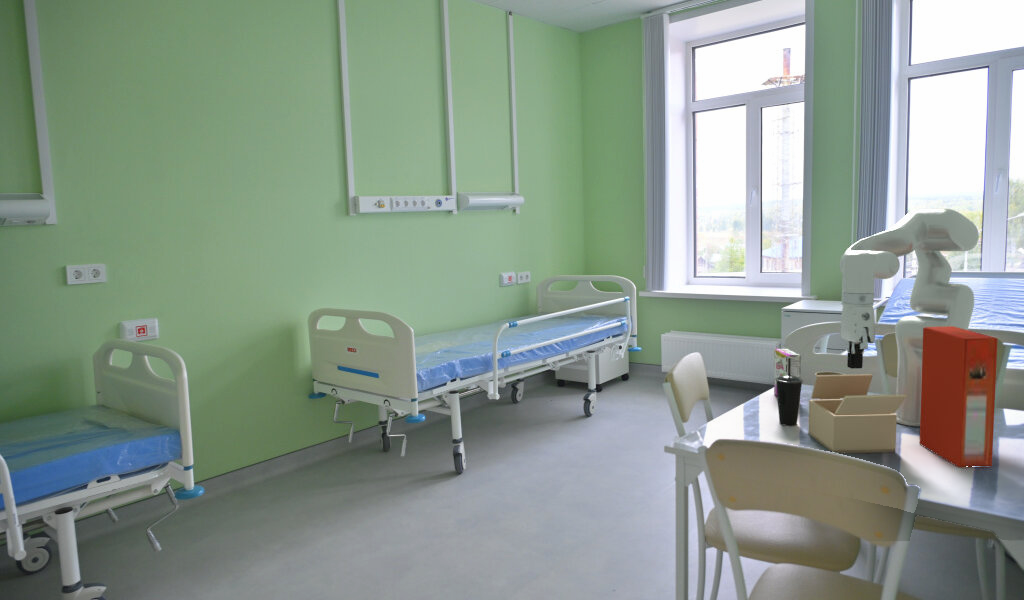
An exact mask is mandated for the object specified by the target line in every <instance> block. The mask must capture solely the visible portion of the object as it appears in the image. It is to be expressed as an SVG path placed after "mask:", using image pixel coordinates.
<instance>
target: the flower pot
mask: <svg viewBox="0 0 1024 600" xmlns="http://www.w3.org/2000/svg"><path fill="white" fill-rule="evenodd" d="M817 375H845V373H841V372H838V371H837V372H836V371H835V372H833V371H819V372H818V371H817V372H815V374H814V376H817ZM825 399H841V398H825ZM820 400H824V399H820Z"/></svg>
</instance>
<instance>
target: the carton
mask: <svg viewBox="0 0 1024 600" xmlns="http://www.w3.org/2000/svg"><path fill="white" fill-rule="evenodd" d="M842 400H843V398H840V399H824V400H821V399H808V435H810V437H811V438H813V439H814V440H816V441H817V442H818V443H820V444H821V445H822V446H823V447H824V448H826V449H827V450H828V451H830V452H831V451H833V452H838V453H837V454H863V453H865V454H867V453H868V454H869V453H872V454H873V453H874V454H876V453H896V447H897V446H896V445H897V443H896V442H897V424H898V423H897V415H896V414H894V413H886V414H835V412H836V410H837V408H838V407H839V405H840V403H841V402H842ZM844 452H845V453H844Z"/></svg>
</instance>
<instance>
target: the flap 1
mask: <svg viewBox="0 0 1024 600" xmlns="http://www.w3.org/2000/svg"><path fill="white" fill-rule="evenodd" d="M844 374H845V373H844ZM873 375H874V374H872V373H859V374H858V373H853V374H852V373H851V374H848V373H847V374H845V375H817V376H816V375H815V376H816V377H815V381H814V386H813V388H812V392H811V400H821V399H825V398H840V399H843V398H844V397H845V396H858V395H868V393H869V389H870V385H871V382H872V380H873Z"/></svg>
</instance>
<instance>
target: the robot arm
mask: <svg viewBox="0 0 1024 600" xmlns="http://www.w3.org/2000/svg"><path fill="white" fill-rule="evenodd" d="M979 235H980V233H979V230H978V227H977V225H975V223H974V222H973V221H971V220H970V219H969V218H967V217H966V216H965V215H963V214H962V213H961V212H959V211H956V210H954V209H952V208H951V209H950V208H926V209H925V208H922V209H916V210H911V211H910V212H907V214H905V215H904V216H903V217H902V218H901V219H899V220H898V222H897V223H895V224H894V225H892V227H890V229H887V230H885V231H881V232H878V233H876V234H873V235H870V236H867V237H865V238H862V239H860V240H858V241H856V242H854V243H853V244H852V245H851V246H850V247H848V248H847V249H846V251H845V252H844V253H843V254H842V256H841V258H840V260H839V261H840V262H839V269H840V271H841V273H842V281H841V282H842V283H841V305H842V309H841V317H840V318H841V319H840V337H841V338H842V339H843V341H844V343H845V344H846V351H847V363H846V364H847V366H846V367H847V368H848V369H849V368H850V369H863V361H864V359H863V358H864V356H863V355H864V353H865V350H867V349H868V348H869V345H868V344H874V343H875V341H876V321H875V318H876V317H875V310H874V309H875V308H874V301H875V296H874V295H875V280H888V279H891V278H893V277H895V275H896V274H897V273H898V272H899V270H900V268H901V267H900V266H901V265H900V264H901V263H900V258H899V257H903V256H906V255H907V256H908V255H910V254H911V253H913V252H914V253H915V256H916V259H917V262H918V266H917V267H918V268H917V273H916V276H915V280H914V283H913V287H912V290H911V294H910V298H909V299H910V300H909V306H910V308H911V310H912V311H914V312H916V313H918V314H925V315H932V316H924V315H906V316H903V317H901V318H900V319H899V320H898V321H897V322H896V324H895V327H894V335H895V341H896V347H897V348H896V349H897V373H896V395H906V396H907V397H906V398H905V400H904V401H903V402H902V404H901V405H900V406H899V408H898V409H897V411H896V412H895V413H894V414H896V415H897V423H896V424H900V425H905V426H912V427H919V426H920V415H921V383H922V352H923V328H925V327H948V326H954V327H957V328H961V329H965V330H969V326H970V322H971V318H972V315H973V311H974V307H975V295H974V291H973V290H972V288H971V287H970V286H968V285H966V284H962V283H951V282H950V279H951V276H952V266H951V264H950V263H949V261H948V259H947V258H946V257H945V256H944V255H943V254H942V252H968V251H971V250H973V249H974V248H976V246H977V244H978V243H979V238H980V236H979ZM934 315H935V316H944V317H946V318H943V317H934Z"/></svg>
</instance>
